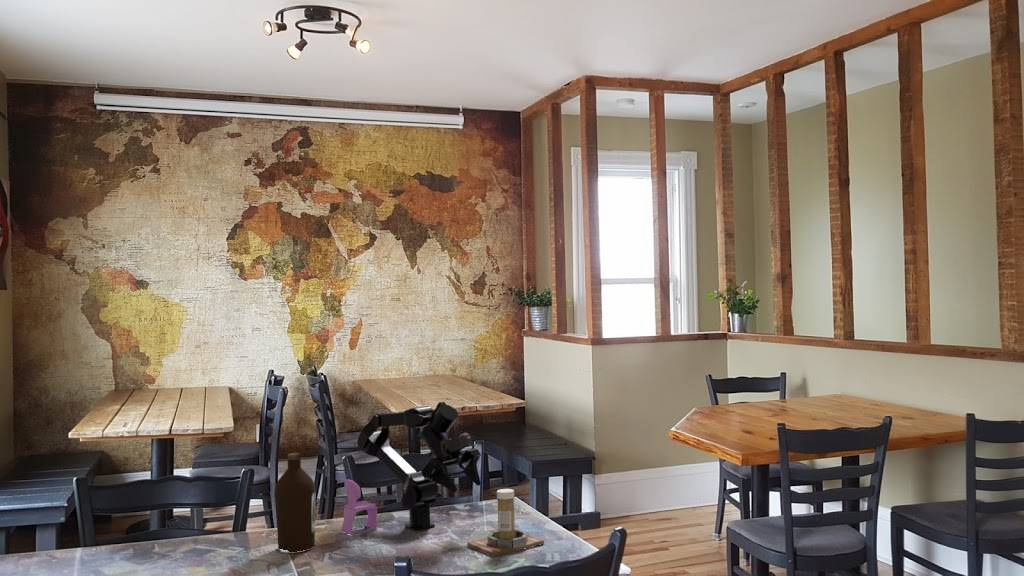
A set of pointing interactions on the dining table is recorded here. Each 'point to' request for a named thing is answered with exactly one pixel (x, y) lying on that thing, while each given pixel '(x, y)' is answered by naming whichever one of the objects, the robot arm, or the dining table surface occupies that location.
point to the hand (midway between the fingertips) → (468, 488)
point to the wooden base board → (492, 551)
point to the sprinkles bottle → (506, 514)
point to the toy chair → (357, 508)
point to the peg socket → (507, 540)
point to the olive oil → (295, 507)
